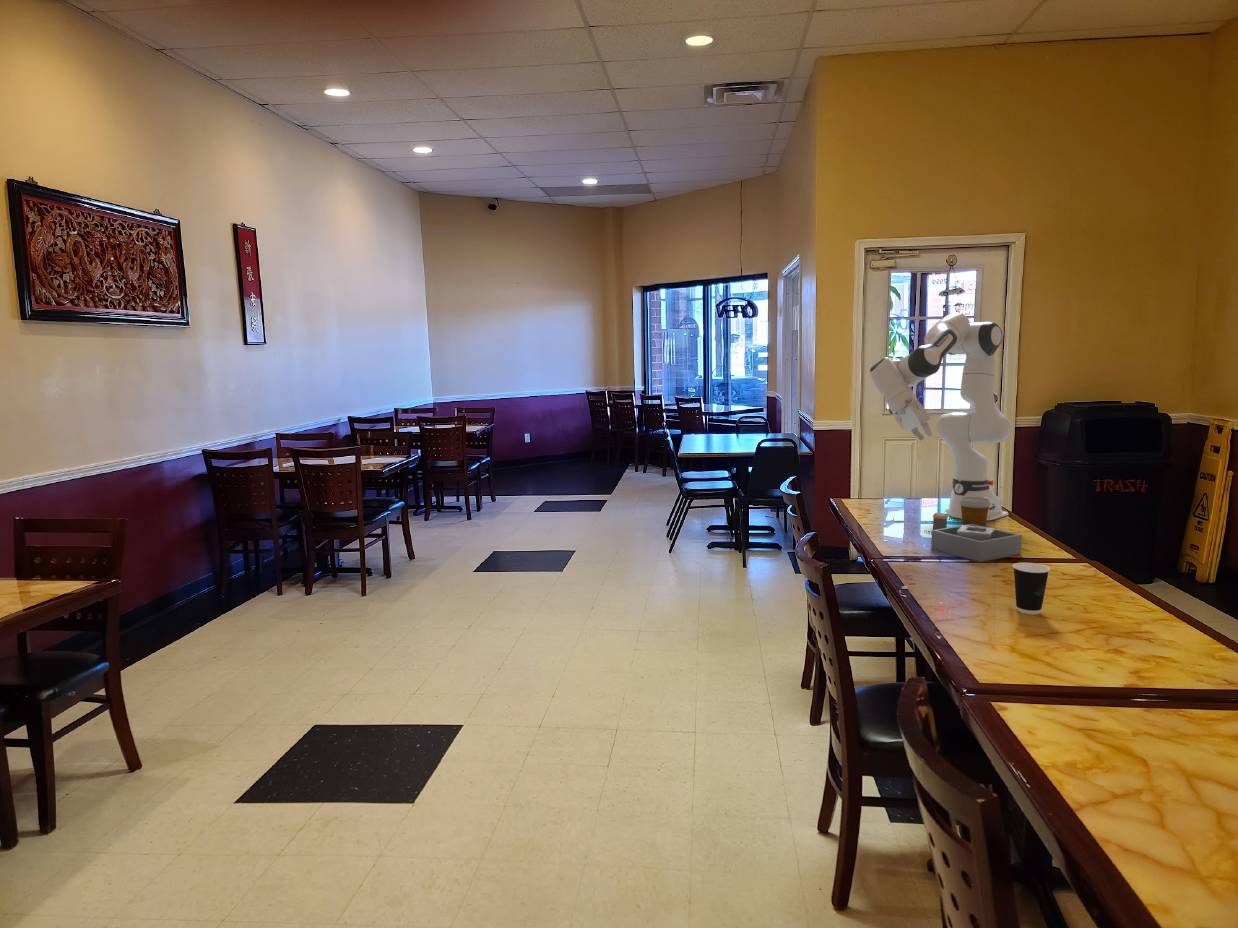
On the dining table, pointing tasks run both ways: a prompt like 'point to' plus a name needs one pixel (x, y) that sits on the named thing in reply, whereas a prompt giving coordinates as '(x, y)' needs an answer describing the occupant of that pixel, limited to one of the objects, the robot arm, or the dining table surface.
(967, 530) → the inlet socket
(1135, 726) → the dining table surface
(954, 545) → the walled box
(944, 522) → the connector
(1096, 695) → the dining table surface
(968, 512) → the disposable coffee cup
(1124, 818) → the dining table surface
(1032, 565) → the dixie cup
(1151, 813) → the dining table surface
